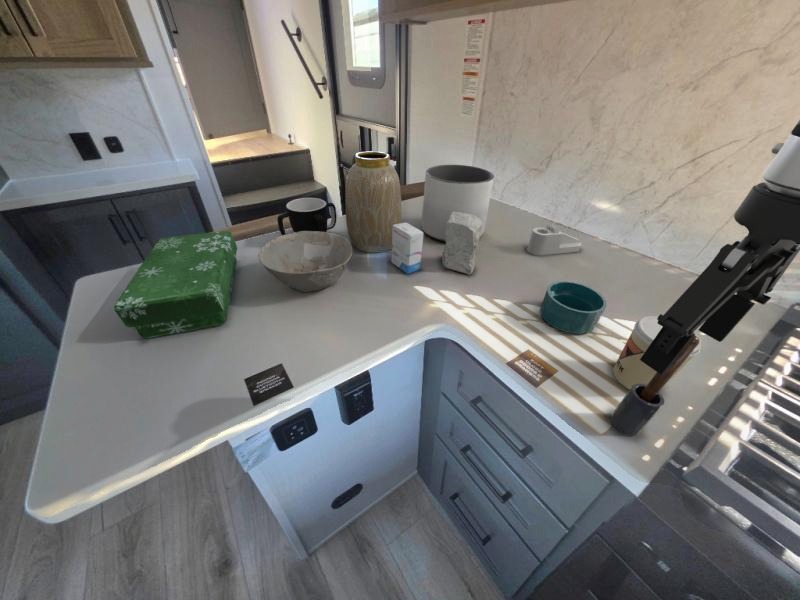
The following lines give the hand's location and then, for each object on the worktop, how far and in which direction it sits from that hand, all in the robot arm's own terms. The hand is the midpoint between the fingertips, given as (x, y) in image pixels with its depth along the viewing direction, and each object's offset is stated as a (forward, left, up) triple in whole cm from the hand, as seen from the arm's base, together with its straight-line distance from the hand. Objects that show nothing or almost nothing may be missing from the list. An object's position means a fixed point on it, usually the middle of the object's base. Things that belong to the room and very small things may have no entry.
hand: (682, 350), depth 42 cm
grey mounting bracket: (+51, -39, -18) cm, 66 cm away
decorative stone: (+55, -4, -18) cm, 58 cm away
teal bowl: (+24, -14, -17) cm, 33 cm away
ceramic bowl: (+63, +37, -18) cm, 75 cm away
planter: (+76, -16, -18) cm, 79 cm away
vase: (+78, +13, -18) cm, 81 cm away
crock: (0, 0, -17) cm, 17 cm away
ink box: (+61, +10, -18) cm, 64 cm away
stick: (0, 0, -17) cm, 17 cm away
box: (+69, +64, -18) cm, 96 cm away
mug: (+89, +31, -18) cm, 96 cm away
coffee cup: (+5, -11, -18) cm, 22 cm away
